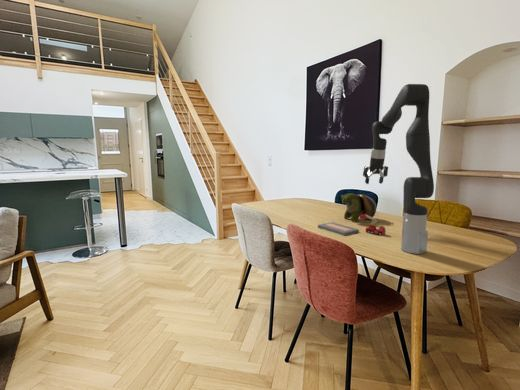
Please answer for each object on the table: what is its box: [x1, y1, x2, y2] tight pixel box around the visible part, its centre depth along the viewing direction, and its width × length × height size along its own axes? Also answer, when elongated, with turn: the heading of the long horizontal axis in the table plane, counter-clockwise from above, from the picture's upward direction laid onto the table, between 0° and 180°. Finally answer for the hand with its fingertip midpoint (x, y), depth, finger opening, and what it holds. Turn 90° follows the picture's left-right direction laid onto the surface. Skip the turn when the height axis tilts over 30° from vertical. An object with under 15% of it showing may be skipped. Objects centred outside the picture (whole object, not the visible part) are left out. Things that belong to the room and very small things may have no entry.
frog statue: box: [340, 192, 377, 223], centre depth 185 cm, size 19×16×25 cm
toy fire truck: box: [359, 214, 386, 236], centre depth 155 cm, size 3×14×10 cm, turn 47°
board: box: [317, 221, 360, 236], centre depth 163 cm, size 20×12×2 cm, turn 32°
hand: (373, 183), depth 169 cm, fingers open, 8 cm apart
